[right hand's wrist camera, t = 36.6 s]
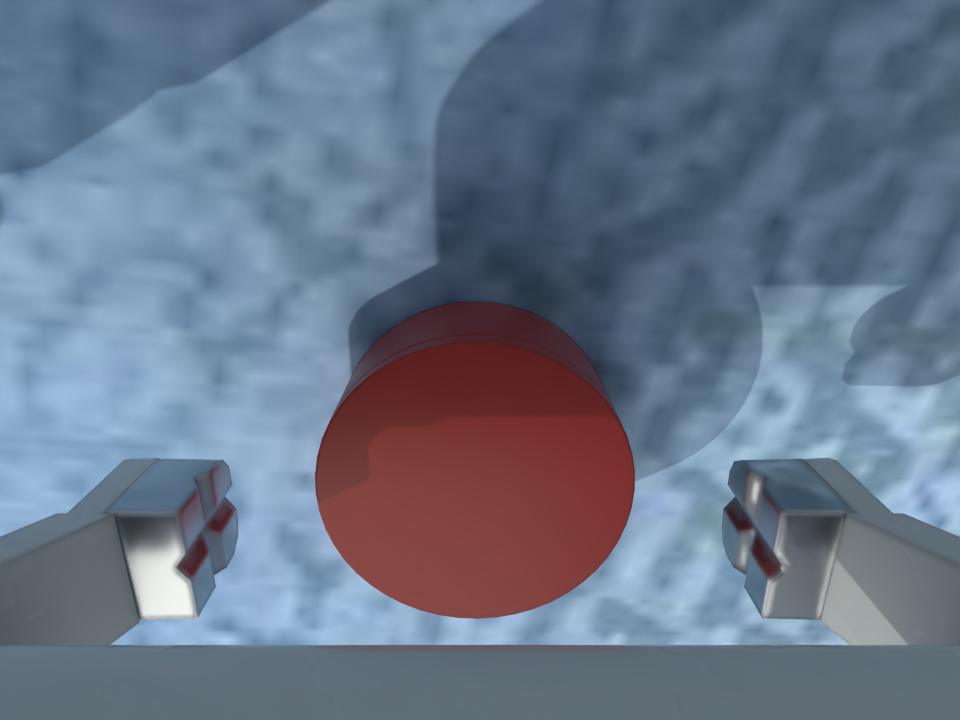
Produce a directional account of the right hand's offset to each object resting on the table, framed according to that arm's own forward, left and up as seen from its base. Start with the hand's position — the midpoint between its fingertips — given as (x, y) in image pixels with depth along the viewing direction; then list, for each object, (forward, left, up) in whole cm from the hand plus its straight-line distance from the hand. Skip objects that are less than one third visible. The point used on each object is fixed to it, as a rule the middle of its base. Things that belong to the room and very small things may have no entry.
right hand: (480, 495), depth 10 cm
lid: (0, 0, 0) cm, 0 cm away
